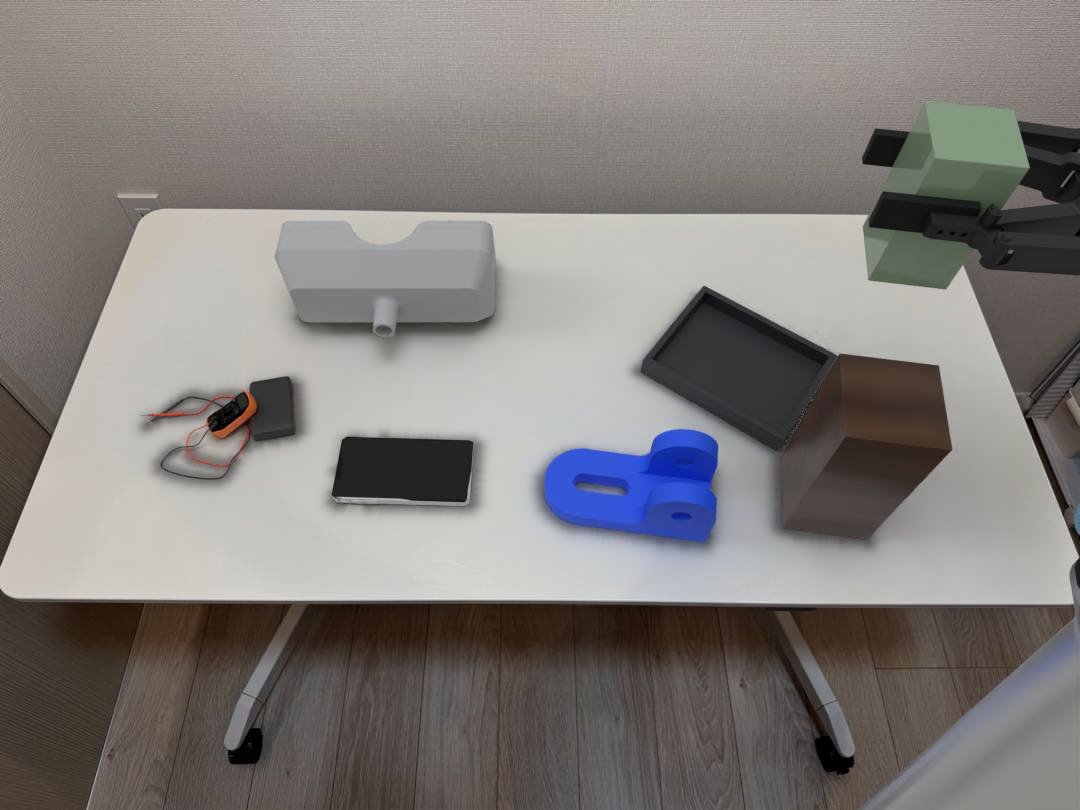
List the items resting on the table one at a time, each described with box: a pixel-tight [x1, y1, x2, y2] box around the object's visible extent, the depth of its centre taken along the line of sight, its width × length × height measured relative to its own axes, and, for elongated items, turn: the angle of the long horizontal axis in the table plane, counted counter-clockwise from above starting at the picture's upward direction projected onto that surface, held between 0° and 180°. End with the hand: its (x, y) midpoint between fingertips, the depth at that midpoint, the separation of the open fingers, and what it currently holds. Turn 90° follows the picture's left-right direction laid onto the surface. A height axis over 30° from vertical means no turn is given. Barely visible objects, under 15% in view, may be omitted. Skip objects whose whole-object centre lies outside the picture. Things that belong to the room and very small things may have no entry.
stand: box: [780, 352, 953, 541], centre depth 77 cm, size 9×9×20 cm
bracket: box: [543, 428, 719, 543], centre depth 81 cm, size 18×8×9 cm, turn 82°
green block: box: [862, 100, 1030, 290], centre depth 56 cm, size 6×6×12 cm
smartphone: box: [331, 436, 475, 507], centre depth 86 cm, size 8×1×15 cm
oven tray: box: [640, 285, 839, 451], centre depth 93 cm, size 15×19×3 cm
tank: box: [274, 220, 497, 338], centre depth 93 cm, size 25×16×12 cm, turn 90°
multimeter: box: [138, 375, 296, 480], centre depth 87 cm, size 18×12×3 cm, turn 98°
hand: (872, 177), depth 56 cm, fingers closed on green block, 6 cm apart
